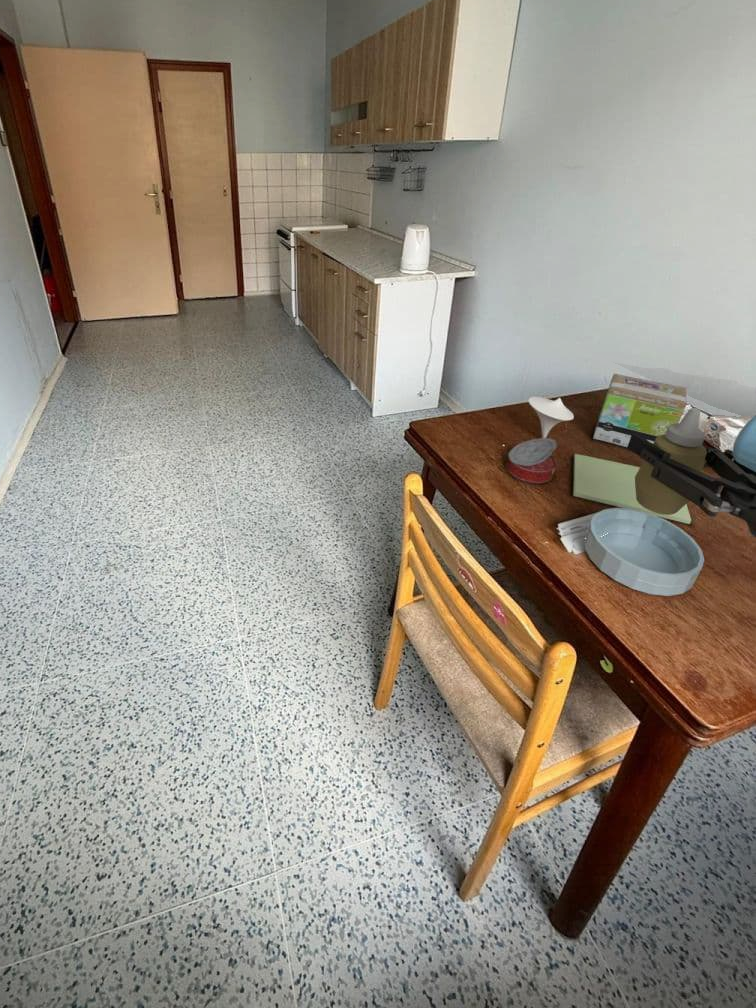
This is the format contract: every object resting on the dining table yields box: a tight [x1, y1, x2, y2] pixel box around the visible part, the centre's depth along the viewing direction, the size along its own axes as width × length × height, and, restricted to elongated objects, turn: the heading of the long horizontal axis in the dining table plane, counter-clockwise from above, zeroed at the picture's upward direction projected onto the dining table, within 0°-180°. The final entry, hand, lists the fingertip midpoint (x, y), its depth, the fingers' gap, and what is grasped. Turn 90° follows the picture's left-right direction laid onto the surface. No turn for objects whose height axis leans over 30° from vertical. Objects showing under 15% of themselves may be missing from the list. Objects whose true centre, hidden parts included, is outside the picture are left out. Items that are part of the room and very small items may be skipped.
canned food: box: [505, 437, 558, 484], centre depth 106 cm, size 11×10×10 cm
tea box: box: [592, 373, 687, 448], centre depth 114 cm, size 15×10×15 cm, turn 55°
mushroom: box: [527, 396, 575, 438], centre depth 115 cm, size 10×11×12 cm
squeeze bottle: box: [635, 407, 707, 515], centre depth 74 cm, size 8×8×18 cm
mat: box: [572, 453, 692, 525], centre depth 101 cm, size 20×16×1 cm
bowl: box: [584, 507, 705, 597], centre depth 82 cm, size 16×16×5 cm
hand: (649, 437), depth 78 cm, fingers closed on squeeze bottle, 6 cm apart
